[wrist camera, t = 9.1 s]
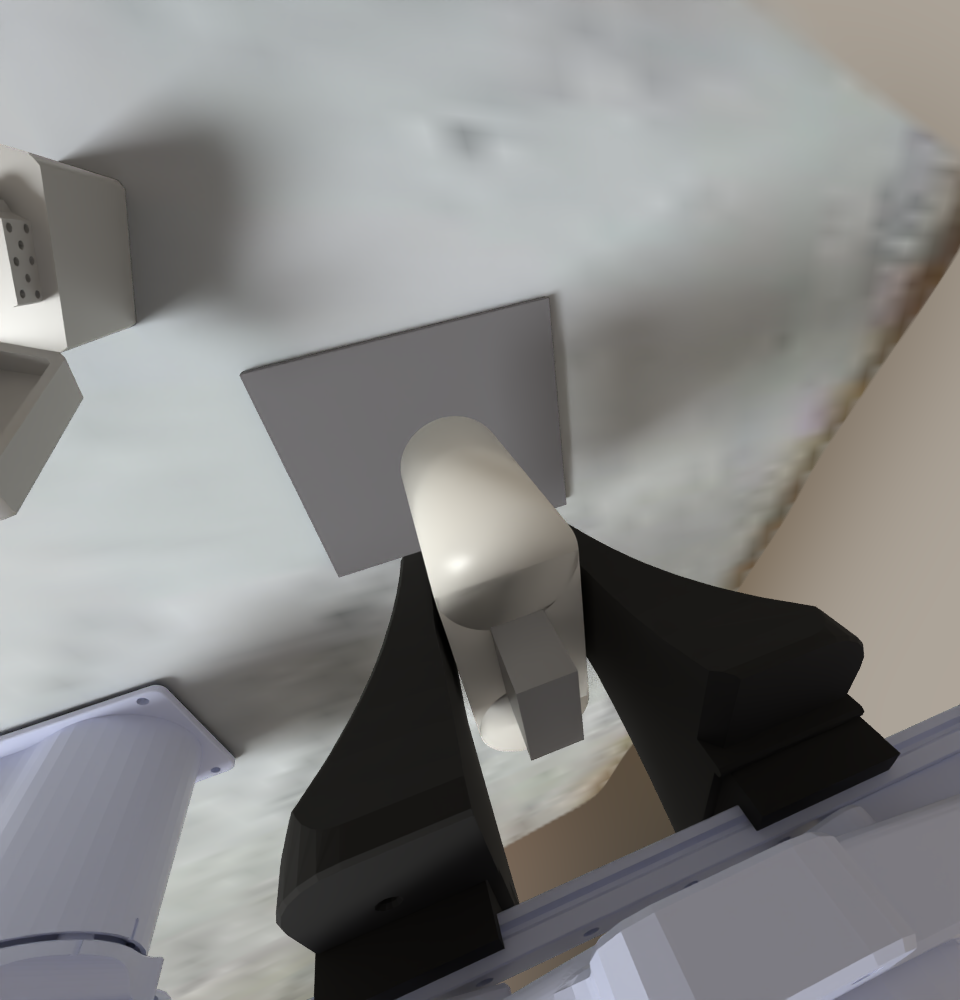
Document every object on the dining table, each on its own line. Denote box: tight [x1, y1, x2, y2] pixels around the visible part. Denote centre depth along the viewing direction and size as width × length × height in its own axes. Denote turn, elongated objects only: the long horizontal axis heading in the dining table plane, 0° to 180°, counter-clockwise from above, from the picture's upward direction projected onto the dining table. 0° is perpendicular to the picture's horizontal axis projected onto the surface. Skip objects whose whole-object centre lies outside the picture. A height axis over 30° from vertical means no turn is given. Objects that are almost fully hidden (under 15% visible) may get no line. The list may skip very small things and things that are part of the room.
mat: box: [240, 297, 566, 577], centre depth 19 cm, size 12×10×1 cm
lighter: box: [0, 144, 136, 520], centre depth 10 cm, size 7×2×8 cm, turn 164°
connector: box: [401, 416, 589, 761], centre depth 11 cm, size 3×8×7 cm, turn 10°
